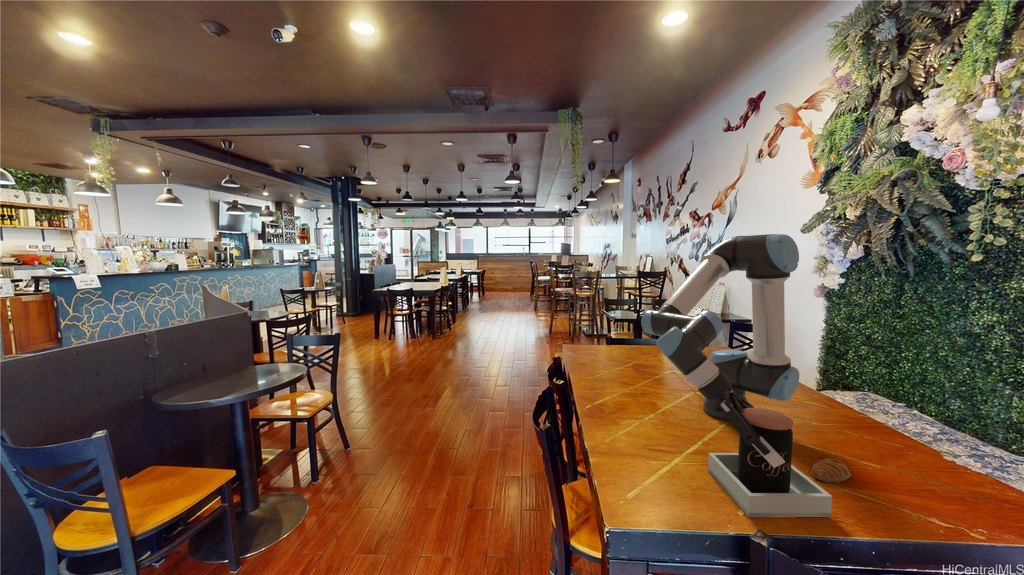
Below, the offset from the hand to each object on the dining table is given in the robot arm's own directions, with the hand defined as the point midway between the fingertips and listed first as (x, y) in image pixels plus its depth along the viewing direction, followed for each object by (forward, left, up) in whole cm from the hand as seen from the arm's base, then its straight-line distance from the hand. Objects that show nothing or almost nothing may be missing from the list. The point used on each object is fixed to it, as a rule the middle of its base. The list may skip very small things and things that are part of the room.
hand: (776, 450), depth 89 cm
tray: (+2, -1, -11) cm, 11 cm away
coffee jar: (+2, -1, -10) cm, 10 cm away
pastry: (-20, -8, -12) cm, 24 cm away
